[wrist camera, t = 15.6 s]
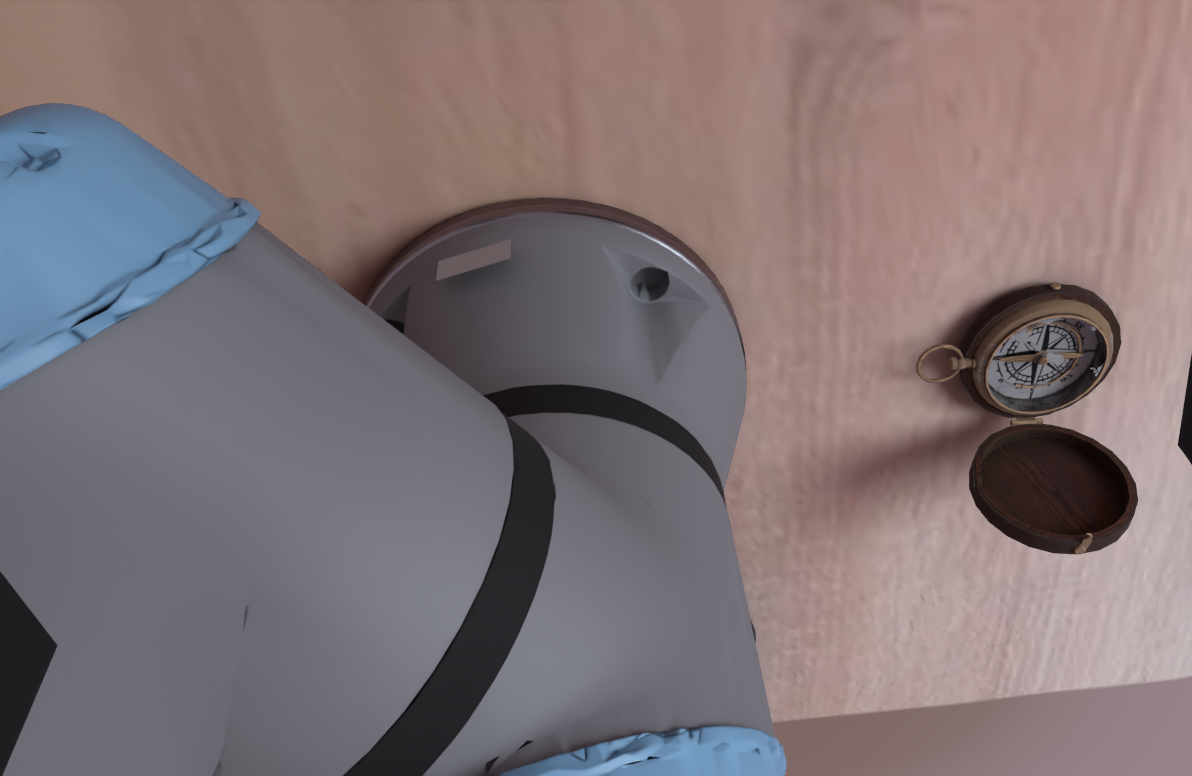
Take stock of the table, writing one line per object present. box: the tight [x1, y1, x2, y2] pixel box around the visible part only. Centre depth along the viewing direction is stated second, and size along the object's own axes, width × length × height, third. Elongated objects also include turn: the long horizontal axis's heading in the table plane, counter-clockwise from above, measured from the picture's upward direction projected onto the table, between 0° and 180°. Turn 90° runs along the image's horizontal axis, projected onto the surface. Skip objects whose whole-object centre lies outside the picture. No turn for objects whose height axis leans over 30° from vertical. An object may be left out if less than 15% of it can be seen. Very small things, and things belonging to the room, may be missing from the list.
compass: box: [916, 283, 1138, 554], centre depth 42 cm, size 8×8×7 cm
